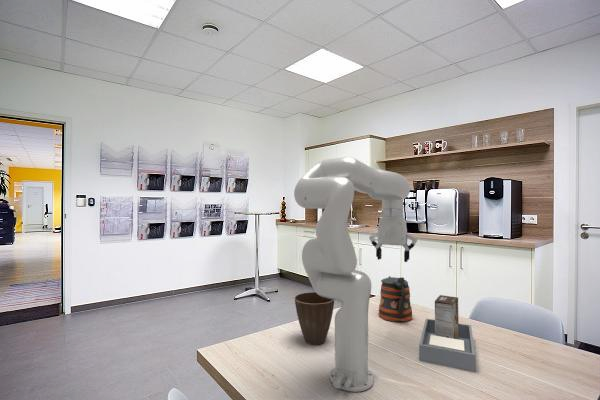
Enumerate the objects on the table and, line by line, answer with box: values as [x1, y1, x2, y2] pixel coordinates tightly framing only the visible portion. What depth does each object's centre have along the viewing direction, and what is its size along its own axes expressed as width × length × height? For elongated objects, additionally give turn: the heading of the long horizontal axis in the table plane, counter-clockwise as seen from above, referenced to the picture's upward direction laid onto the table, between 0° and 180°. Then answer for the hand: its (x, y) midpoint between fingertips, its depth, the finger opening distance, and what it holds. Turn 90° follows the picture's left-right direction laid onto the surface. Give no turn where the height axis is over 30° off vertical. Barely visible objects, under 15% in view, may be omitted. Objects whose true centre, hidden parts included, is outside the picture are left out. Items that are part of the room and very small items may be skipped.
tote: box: [418, 318, 477, 373], centre depth 107 cm, size 26×16×6 cm, turn 154°
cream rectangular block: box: [429, 335, 465, 352], centre depth 101 cm, size 8×10×5 cm
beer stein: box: [378, 275, 413, 323], centre depth 138 cm, size 19×15×20 cm
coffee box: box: [434, 294, 460, 340], centre depth 110 cm, size 9×6×16 cm
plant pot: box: [294, 291, 335, 346], centre depth 116 cm, size 15×15×16 cm
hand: (392, 260), depth 115 cm, fingers open, 9 cm apart
